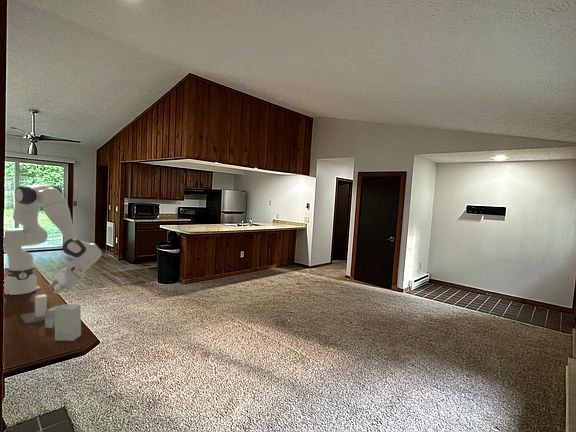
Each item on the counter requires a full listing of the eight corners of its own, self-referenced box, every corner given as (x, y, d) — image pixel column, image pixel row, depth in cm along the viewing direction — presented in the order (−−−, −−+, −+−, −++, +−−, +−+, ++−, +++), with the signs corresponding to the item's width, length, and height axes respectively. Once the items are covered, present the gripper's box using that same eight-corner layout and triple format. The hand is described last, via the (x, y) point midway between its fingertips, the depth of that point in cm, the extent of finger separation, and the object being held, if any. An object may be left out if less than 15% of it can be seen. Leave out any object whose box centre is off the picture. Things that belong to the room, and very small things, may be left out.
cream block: (34, 314, 158) (35, 295, 158) (44, 312, 161) (45, 294, 161) (36, 317, 156) (37, 297, 155) (46, 315, 159) (47, 296, 158)
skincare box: (81, 335, 143) (82, 304, 142) (72, 342, 137) (73, 309, 136) (62, 334, 142) (63, 303, 141) (53, 341, 136) (54, 308, 135)
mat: (20, 316, 157) (20, 314, 157) (54, 309, 168) (54, 308, 168) (25, 324, 149) (25, 322, 149) (60, 316, 160) (60, 315, 160)
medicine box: (52, 329, 147) (52, 311, 146) (44, 327, 148) (44, 309, 147) (67, 322, 155) (67, 305, 154) (59, 321, 156) (60, 304, 155)
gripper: (64, 262, 173) (42, 282, 166) (76, 270, 160) (52, 292, 153) (73, 268, 176) (52, 288, 170) (85, 277, 163) (62, 299, 157)
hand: (52, 290), depth 161 cm, fingers open, 8 cm apart
